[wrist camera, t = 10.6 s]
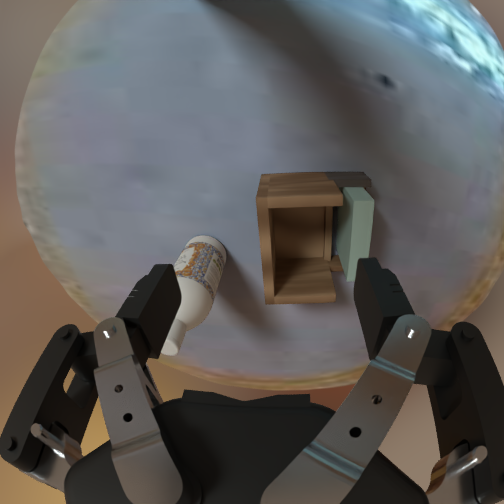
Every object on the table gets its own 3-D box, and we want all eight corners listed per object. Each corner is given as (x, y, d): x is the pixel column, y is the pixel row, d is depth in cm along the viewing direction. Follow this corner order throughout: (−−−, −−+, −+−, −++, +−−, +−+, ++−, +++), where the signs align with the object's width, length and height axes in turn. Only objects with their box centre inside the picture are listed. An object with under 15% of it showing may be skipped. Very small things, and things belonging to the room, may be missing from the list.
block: (338, 178, 37) (353, 200, 29) (358, 178, 36) (378, 200, 29) (335, 247, 42) (346, 281, 34) (353, 246, 42) (367, 280, 34)
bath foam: (209, 226, 42) (164, 317, 25) (235, 259, 45) (209, 358, 28) (177, 246, 45) (125, 335, 28) (203, 276, 47) (167, 371, 30)
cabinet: (261, 174, 37) (255, 198, 29) (363, 172, 36) (387, 195, 27) (268, 263, 45) (265, 304, 36) (356, 259, 43) (371, 299, 34)
